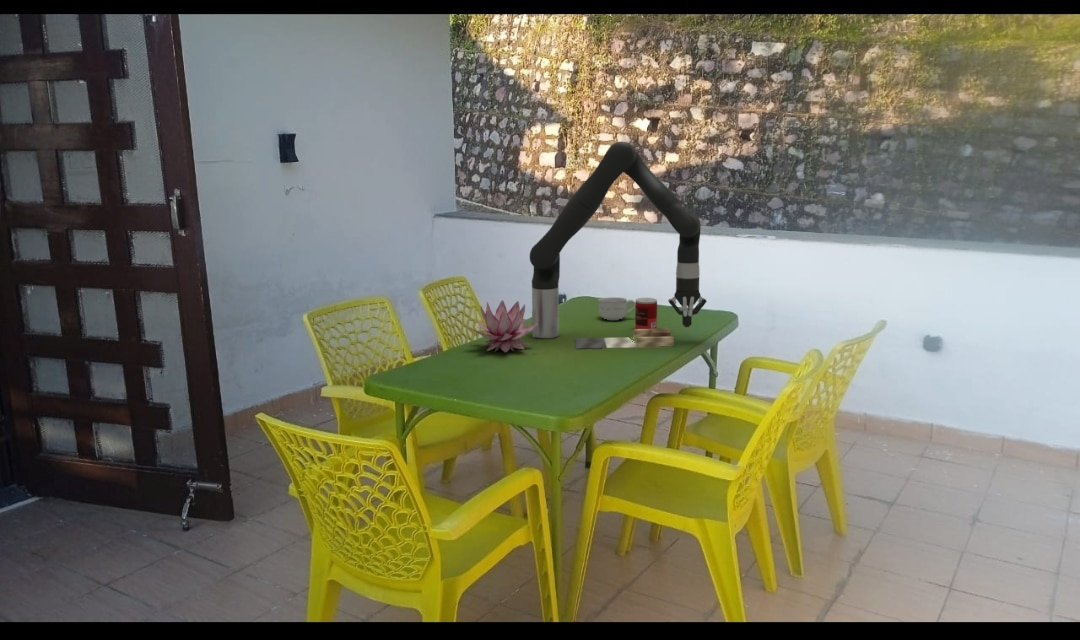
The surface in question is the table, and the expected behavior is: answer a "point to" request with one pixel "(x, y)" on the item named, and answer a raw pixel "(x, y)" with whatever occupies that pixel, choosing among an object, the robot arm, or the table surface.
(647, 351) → the table surface
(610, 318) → the teacup
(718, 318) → the table surface
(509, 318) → the decorative flower
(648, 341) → the corridor track
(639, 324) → the canned food
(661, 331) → the walnut block
